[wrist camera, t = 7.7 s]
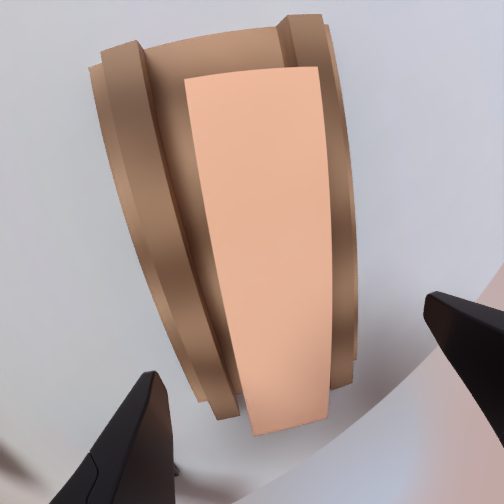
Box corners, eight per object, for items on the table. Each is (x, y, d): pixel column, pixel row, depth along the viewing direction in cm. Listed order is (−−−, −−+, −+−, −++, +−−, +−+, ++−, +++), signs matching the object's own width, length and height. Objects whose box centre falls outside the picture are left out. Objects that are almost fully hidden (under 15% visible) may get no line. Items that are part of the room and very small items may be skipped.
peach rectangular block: (296, 349, 20) (327, 417, 15) (237, 362, 20) (253, 436, 15) (271, 84, 14) (317, 66, 8) (188, 95, 13) (183, 79, 8)
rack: (351, 351, 23) (367, 377, 20) (197, 392, 22) (200, 423, 19) (321, 28, 14) (345, 14, 11) (94, 70, 13) (74, 61, 10)
